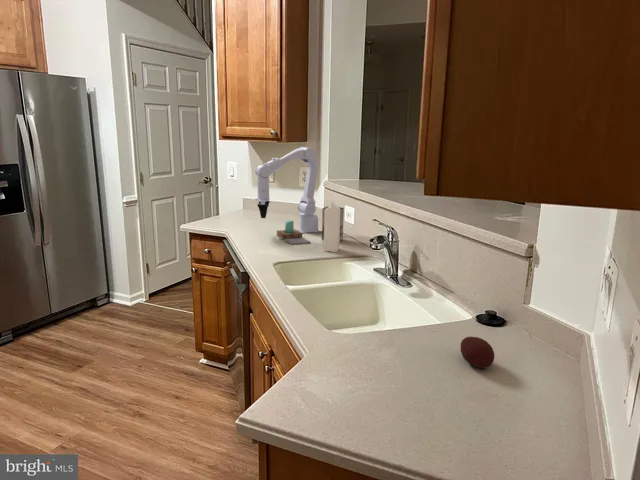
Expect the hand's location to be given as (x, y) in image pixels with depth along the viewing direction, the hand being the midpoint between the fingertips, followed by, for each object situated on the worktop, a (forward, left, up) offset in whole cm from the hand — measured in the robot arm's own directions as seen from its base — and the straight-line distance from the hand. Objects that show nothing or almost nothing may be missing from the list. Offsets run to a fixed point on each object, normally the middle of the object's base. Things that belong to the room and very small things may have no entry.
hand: (263, 216), depth 233 cm
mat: (-11, +18, -10) cm, 23 cm away
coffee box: (-29, +20, -10) cm, 37 cm away
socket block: (-11, +7, -10) cm, 16 cm away
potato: (-8, +145, -10) cm, 145 cm away
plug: (-11, +7, -10) cm, 16 cm away
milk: (-20, +38, -10) cm, 44 cm away
